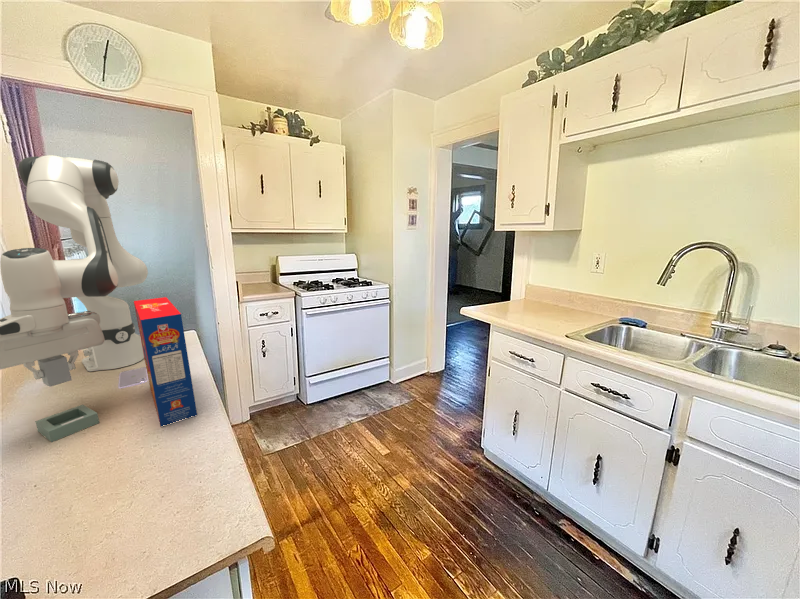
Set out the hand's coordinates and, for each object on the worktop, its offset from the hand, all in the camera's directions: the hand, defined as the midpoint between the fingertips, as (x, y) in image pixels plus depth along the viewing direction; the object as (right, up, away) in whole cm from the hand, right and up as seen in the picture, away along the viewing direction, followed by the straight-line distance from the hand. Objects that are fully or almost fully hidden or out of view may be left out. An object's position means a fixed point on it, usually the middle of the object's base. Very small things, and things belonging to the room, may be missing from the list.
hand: (55, 373), depth 81 cm
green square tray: (0, -14, +3) cm, 15 cm away
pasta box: (+18, -12, +16) cm, 26 cm away
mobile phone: (-6, -9, +31) cm, 33 cm away
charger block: (0, -2, 0) cm, 2 cm away
